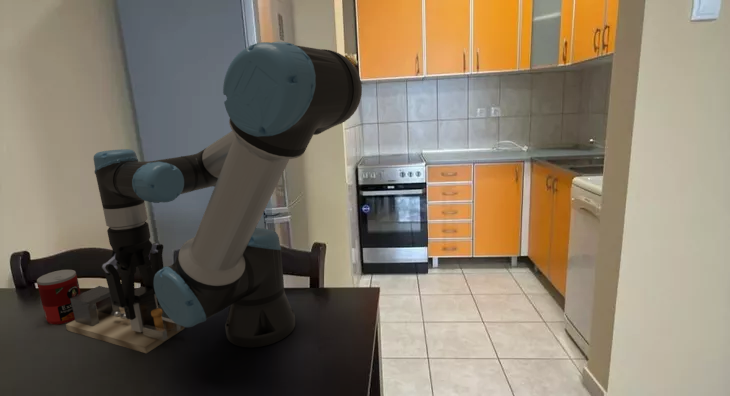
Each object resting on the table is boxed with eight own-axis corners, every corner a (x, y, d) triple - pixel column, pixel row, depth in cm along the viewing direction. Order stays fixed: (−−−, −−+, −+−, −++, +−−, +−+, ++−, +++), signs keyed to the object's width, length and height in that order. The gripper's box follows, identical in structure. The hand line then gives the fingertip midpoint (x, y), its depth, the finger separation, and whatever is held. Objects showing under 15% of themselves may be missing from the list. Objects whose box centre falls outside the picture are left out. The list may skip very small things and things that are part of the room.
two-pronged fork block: (181, 329, 89) (175, 291, 87) (163, 340, 85) (156, 301, 83) (122, 314, 96) (116, 279, 94) (104, 324, 92) (96, 288, 90)
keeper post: (168, 331, 89) (164, 309, 88) (159, 336, 87) (155, 314, 86) (161, 329, 90) (157, 307, 89) (152, 334, 88) (148, 312, 87)
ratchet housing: (120, 312, 98) (115, 289, 97) (92, 326, 92) (87, 302, 91) (103, 308, 101) (99, 285, 99) (75, 321, 95) (70, 298, 93)
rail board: (184, 328, 93) (183, 322, 92) (146, 353, 84) (145, 347, 83) (108, 309, 103) (107, 304, 102) (67, 330, 94) (65, 324, 94)
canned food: (65, 326, 96) (55, 283, 93) (38, 323, 97) (27, 281, 95) (92, 310, 103) (84, 270, 100) (66, 308, 105) (57, 268, 102)
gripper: (149, 212, 93) (165, 305, 99) (74, 235, 78) (98, 342, 84) (173, 214, 90) (188, 310, 96) (100, 238, 75) (123, 349, 81)
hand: (146, 325), depth 90 cm, fingers closed on two-pronged fork block, 4 cm apart
